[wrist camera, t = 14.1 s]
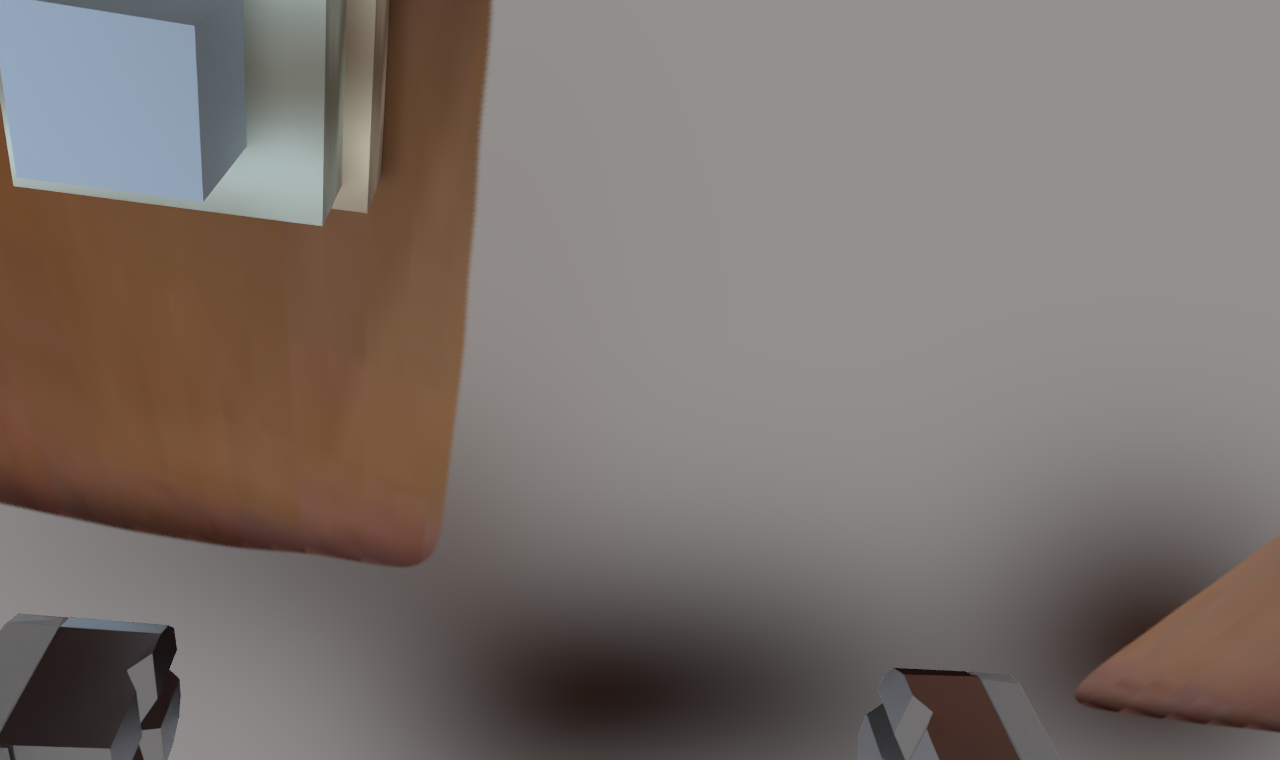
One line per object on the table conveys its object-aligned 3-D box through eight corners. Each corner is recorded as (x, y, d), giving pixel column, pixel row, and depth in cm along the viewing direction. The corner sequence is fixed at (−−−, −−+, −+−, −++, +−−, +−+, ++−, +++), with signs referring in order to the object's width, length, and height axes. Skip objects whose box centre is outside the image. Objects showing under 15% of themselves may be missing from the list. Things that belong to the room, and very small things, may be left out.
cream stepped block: (40, -202, 34) (-85, -196, 27) (395, -133, 36) (363, -111, 29) (79, 135, 40) (-15, 209, 33) (381, 177, 42) (350, 255, 35)
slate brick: (68, -39, 29) (-12, -8, 25) (242, -10, 30) (194, 25, 26) (86, 123, 32) (16, 177, 27) (246, 146, 33) (203, 202, 28)
